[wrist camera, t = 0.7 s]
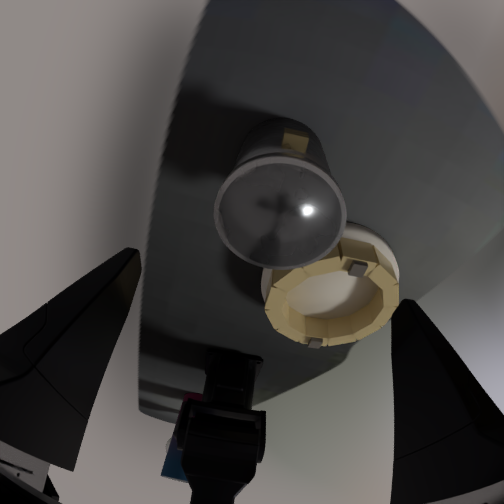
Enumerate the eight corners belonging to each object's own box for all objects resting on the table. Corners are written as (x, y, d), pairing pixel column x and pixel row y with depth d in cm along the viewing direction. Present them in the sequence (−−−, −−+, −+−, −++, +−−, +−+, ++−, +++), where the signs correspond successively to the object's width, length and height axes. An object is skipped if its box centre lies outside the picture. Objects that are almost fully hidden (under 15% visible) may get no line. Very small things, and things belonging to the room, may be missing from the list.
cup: (178, 386, 41) (157, 474, 30) (221, 395, 41) (205, 484, 30) (180, 400, 46) (163, 477, 34) (218, 408, 46) (205, 486, 34)
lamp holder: (362, 326, 27) (366, 357, 24) (252, 309, 26) (247, 342, 24) (418, 239, 20) (433, 272, 17) (278, 206, 19) (276, 239, 17)
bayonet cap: (311, 208, 19) (320, 285, 14) (231, 192, 19) (208, 264, 14) (338, 120, 15) (369, 167, 10) (246, 99, 15) (222, 134, 10)
